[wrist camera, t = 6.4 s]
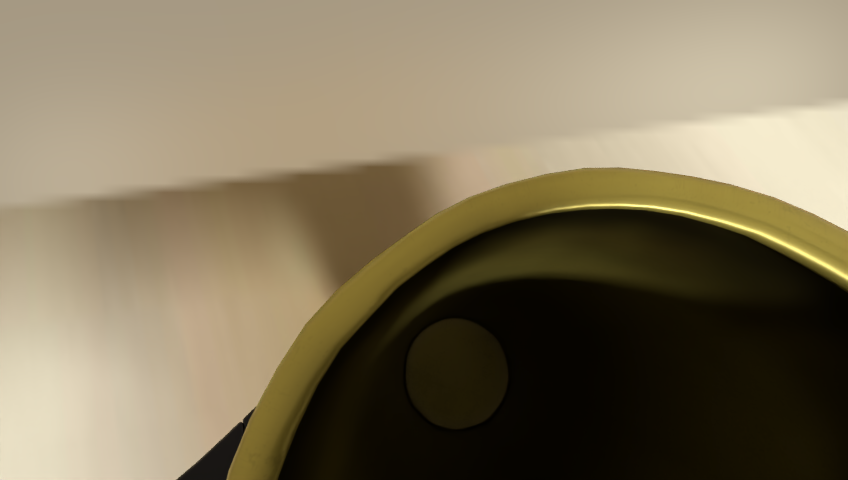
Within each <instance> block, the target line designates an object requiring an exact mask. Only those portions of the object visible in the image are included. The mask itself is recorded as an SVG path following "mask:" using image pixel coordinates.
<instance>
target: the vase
mask: <svg viewBox="0 0 848 480" xmlns="http://www.w3.org/2000/svg"><path fill="white" fill-rule="evenodd" d="M227 480H848V231H846V230H844V229H842V228H840V227H838V226H836V225H834V224H832V223H830V222H828V221H826V220H824V219H822V218H820V217H818V216H817V215H815V214H813V213H810V212H808V211H805V210H803V209H801V208H798V207H796V206H793V205H791V204H789V203H786V202H784V201H782V200H779V199H777V198H774V197H771V196H768V195H765V194H761V193H758V192H755V191H751V190H748V189H744V188H741V187H738V186H734V185H731V184H726V183H721V182H717V181H712V180H707V179H702V178H697V177H692V176H686V175H679V174H672V173H665V172H658V171H650V170H639V169H629V168H582V169H576V170H569V171H563V172H556V173H550V174H545V175H541V176H537V177H533V178H529V179H525V180H521V181H517V182H513V183H509V184H505V185H502V186H499V187H497V188H494V189H491V190H488V191H485V192H483V193H480V194H477V195H474V196H471V197H469V198H466V199H464V200H463V201H461V202H459V203H457V204H455V205H453V206H451V207H449V208H447V209H445V210H443V211H441V212H439V213H437V214H436V215H434V216H433V217H431V218H430V219H428V220H427V221H426V222H424V223H423V224H421V225H420V226H418V227H417V228H416V229H414V230H413V231H411V232H410V233H408V234H407V235H406V236H404V237H403V238H401V239H400V240H399V241H397V242H396V243H395V244H393V245H392V246H391V247H389V248H388V249H386V250H385V251H384V252H382V253H381V254H380V255H378V256H377V257H376V258H374V259H373V260H372V261H370V262H369V263H368V264H367V265H366V266H365V267H363V268H362V269H361V270H360V271H359V272H358V273H356V274H355V275H354V276H353V277H352V278H351V279H349V280H348V281H347V282H346V283H345V284H344V285H342V286H341V287H340V288H339V289H338V290H337V291H336V292H335V293H334V294H333V295H332V296H331V297H330V298H329V299H328V300H327V301H326V303H325V304H324V305H323V306H322V307H321V308H320V309H319V310H318V311H317V312H316V313H315V315H314V316H313V317H312V318H311V319H310V320H309V321H308V322H307V323H306V324H305V326H304V327H303V329H302V331H301V332H300V334H299V335H298V337H297V338H296V340H295V341H294V343H293V344H292V346H291V347H290V349H289V351H288V352H287V354H286V355H285V357H284V358H283V360H282V361H281V363H280V364H279V366H278V367H277V369H276V371H275V373H274V375H273V377H272V379H271V380H270V382H269V384H268V386H267V388H266V390H265V392H264V393H263V395H262V397H261V399H260V401H259V403H258V405H257V406H256V408H255V410H254V412H253V414H252V416H251V418H250V420H249V422H248V425H247V427H246V429H245V432H244V434H243V437H242V439H241V442H240V444H239V447H238V449H237V452H236V454H235V456H234V459H233V461H232V464H231V466H230V469H229V471H228V476H227Z"/></svg>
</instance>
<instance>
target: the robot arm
mask: <svg viewBox="0 0 848 480" xmlns="http://www.w3.org/2000/svg"><path fill="white" fill-rule="evenodd" d="M255 408H256V407H255ZM255 408H254V409H253V410H252V411H251V412H250V413H249V414H248V415H247V416H246V417H245V418H244V419H243V423H242V422H240V423H238V424H237V425H236V426H235V427H234V428H233V429H232V430H231V431H230V432H229V433H228V434H227V435H226V436H225V437H224V438H223V439H222V440H221V441H219V442H218V443H217V444H216V445H215V446H214V447H213V448H212V449H211V450H210V451H209V452H208V453H206V454H205V455H204V456H203V457H202V458H201V459H200V460H199V461H198V462H197V463H196V464H194V465H193V466H192V467H191V468H190V469H188V470H187V471H186V472H185V473H184V474H183V475H181V476H180V477H179V478H178V479H177V480H227V476H228V471H229V469H230V466H231V464H232V461H233V459H234V456H235V454H236V452H237V449H238V447H239V444H240V442H241V439H242V437H243V434H244V432H245V429H246V427H247V425H248V422H249V420H250V418H251V416H252V414H253V412H254V410H255Z"/></svg>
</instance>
